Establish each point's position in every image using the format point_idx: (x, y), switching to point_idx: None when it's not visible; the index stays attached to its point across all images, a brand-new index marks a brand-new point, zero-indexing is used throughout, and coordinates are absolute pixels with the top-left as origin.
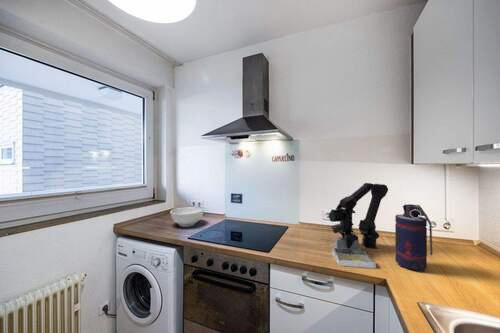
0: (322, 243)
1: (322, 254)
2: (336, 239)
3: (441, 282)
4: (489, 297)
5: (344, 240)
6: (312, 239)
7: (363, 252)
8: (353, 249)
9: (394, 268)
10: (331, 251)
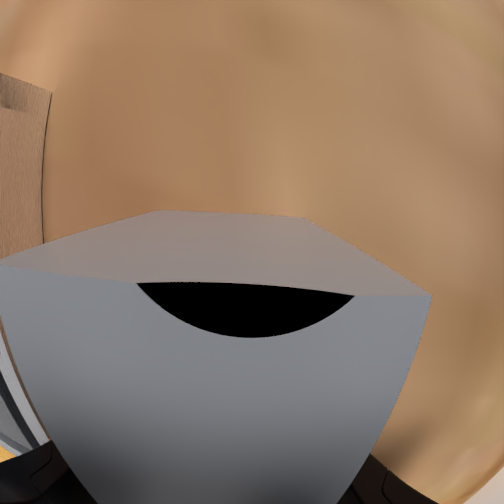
0: (429, 51)
1: (34, 7)
2: (81, 267)
3: None
4: None
5: (89, 485)
6: (499, 21)
7: (27, 451)
8: (23, 416)
9: (11, 454)
10: (41, 88)
